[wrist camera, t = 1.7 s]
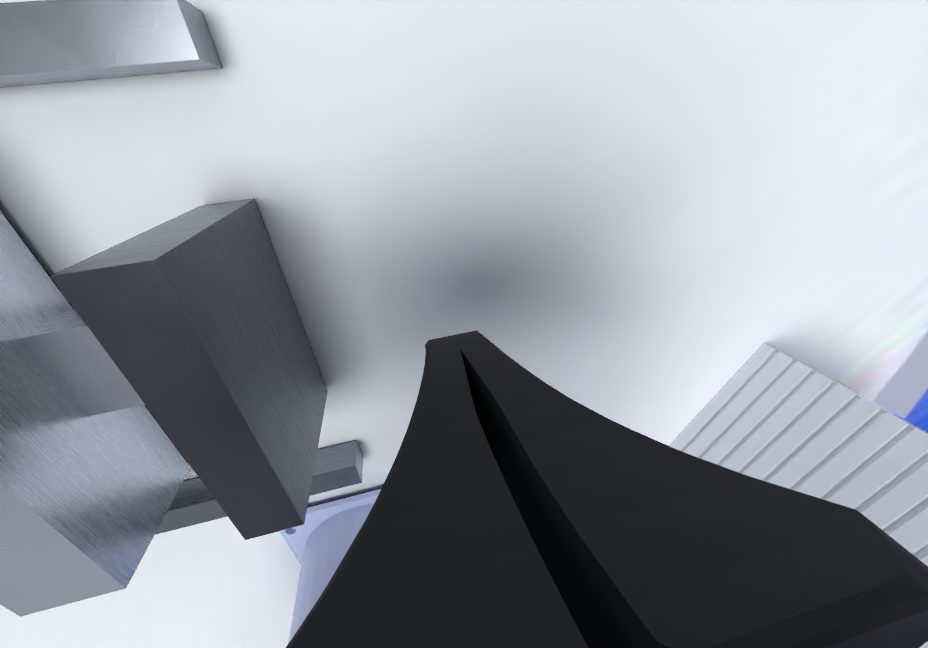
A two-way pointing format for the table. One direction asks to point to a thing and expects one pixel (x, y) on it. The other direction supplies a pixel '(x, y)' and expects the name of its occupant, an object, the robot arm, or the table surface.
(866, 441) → the white ridged block
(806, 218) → the table surface
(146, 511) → the vise jaw
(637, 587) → the robot arm
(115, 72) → the vise
